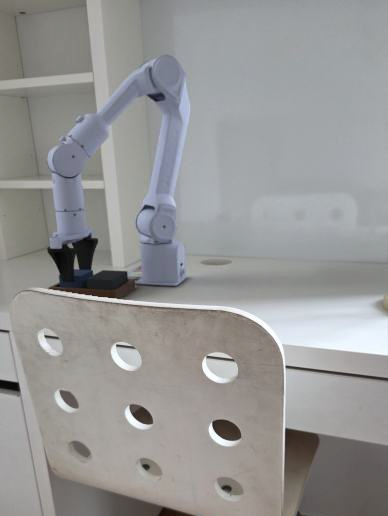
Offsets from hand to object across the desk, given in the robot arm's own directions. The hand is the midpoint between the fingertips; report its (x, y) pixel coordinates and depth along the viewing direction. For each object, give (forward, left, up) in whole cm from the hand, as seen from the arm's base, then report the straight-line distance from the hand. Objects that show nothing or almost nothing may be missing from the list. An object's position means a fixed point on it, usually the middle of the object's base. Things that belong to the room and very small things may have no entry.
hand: (77, 277), depth 108 cm
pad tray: (-3, 0, -3) cm, 5 cm away
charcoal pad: (-7, 0, -2) cm, 7 cm away
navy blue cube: (0, 0, -2) cm, 3 cm away
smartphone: (-8, -20, -3) cm, 22 cm away
